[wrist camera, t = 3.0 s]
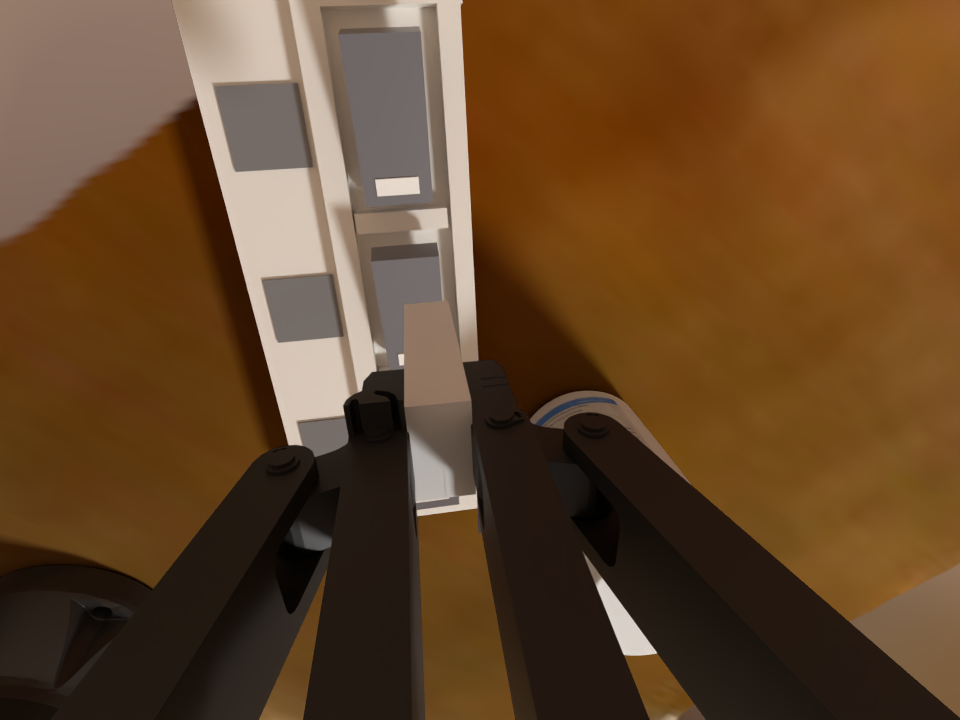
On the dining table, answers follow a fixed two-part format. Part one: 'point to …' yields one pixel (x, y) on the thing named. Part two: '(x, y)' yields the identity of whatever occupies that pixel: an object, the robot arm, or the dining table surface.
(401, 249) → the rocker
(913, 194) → the dining table surface
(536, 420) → the supplement tub
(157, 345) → the dining table surface
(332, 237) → the power strip
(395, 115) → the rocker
